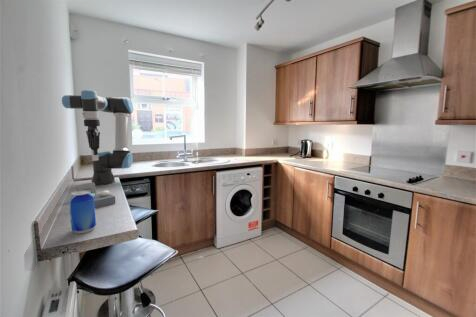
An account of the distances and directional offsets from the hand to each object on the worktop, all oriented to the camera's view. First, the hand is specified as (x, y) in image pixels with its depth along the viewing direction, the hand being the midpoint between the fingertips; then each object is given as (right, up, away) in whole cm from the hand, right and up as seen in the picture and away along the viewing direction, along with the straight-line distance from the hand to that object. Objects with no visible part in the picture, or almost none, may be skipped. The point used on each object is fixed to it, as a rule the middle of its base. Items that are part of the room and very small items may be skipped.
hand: (95, 160), depth 133 cm
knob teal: (+3, -23, -9) cm, 25 cm away
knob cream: (+8, -22, -4) cm, 24 cm away
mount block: (+6, -24, -7) cm, 25 cm away
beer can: (+19, -29, -38) cm, 51 cm away
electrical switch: (-7, -23, +2) cm, 24 cm away
